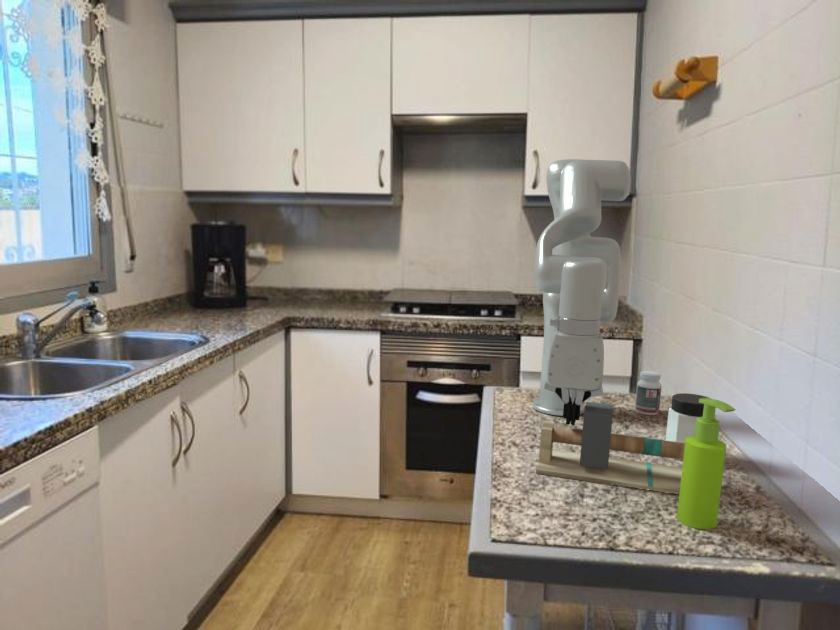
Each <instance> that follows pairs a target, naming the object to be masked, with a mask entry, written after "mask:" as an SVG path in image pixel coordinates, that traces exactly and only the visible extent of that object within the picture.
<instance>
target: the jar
mask: <svg viewBox="0 0 840 630" xmlns="http://www.w3.org/2000/svg"><path fill="white" fill-rule="evenodd" d="M671 398H672V399H671V405H670V406H669V407H668V413H667V423H666V433H665V441H673V442H680V443H685V440H686V438H687V437H691V436H695V428H696V420H697V418H700V417H702V416H703V410H704V404H703V403H700V402H699V399H701V398H710V397H708V396H705V395H702V394H697V393H696V394H695V393H685V392H684V393H683V392H682V393H680V392H679V393H675V394H673V395H672V396H671ZM715 419H717V414H715ZM676 461H682V462H683V460H681V459H676Z"/></svg>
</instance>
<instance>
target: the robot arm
mask: <svg viewBox="0 0 840 630" xmlns="http://www.w3.org/2000/svg"><path fill="white" fill-rule="evenodd" d="M631 176H632V175H631V172H630V167H629V166H628V164H627V163H626V162H625V161H622V160H614V159H613V160H610V159H607V160H606V159H581V158H580V159H578V158H577V159H576V158H569V159H560V160H555V161H553V162H551V163H550V164H549V165H548V167H547V170H546V181H545V182H546V188H547V194H548V197H549V198H548V199H549V200H550V201H549V202H550V204H551V208H552V212H553V219H554V220H553V221H551V222H550V223H549V224H548V225H547V226H546V227H545V229H544V230H543V231H542V233H541V234H540V236H539V238H538V239H537V240H538V241H537V243H536V247H535V257H534V271H533V272H534V274H533V275H534V276H533V278H534V285H535V287H536V289H537V290H538V291H540V292H542V293H543V295H542V305H543V306H542V307H543V344H542V346H543V347H542V359H541V360H542V361H541V371H540V372H541V373H540V374H541V375H540V385H539V387H540V388H539V398H535V399H534V400H533V401H532V409H534V410H536V411H538V412H540V413H543V414H546V415H552V416H558V417H559V416H560V417H562V419H565V425H567V426H568V425H571V426H575V424H576V421H580V416H581V415H582V414H584V410H585V405H584V404H583V403H584V402H585V401H587V400H588V399H589V398H591V397H592V398H594V397H595V398H596V397H602V396H603V394H604V390H603V389H604V388H603V381H604V367H605V366H604V365H605V362H604V361H605V347H604V345H605V344H604V338H603V335H600V329H601V328H600V327H601V326H600V325H601V324H609V323H611V322H612V323H613V321H614V320H615V319H616V318H617V317H616V316H617V313H618V305H619V295H620V294H619V293H620V279H621V262H622V261H621V260H622V254H621V253H622V252H621V246H620V245H619V243H618V241H617V240H615V239H613V238H611V237H610V238H609V237H602V236H601V237H600V236H591V234H592V233H593V232H594V231H597V229H598V228H599V226H601V223H602V201H609V202H611V201H612V202H622V201H624V200H626V199H627V198H628V196H629V193H630V189H631V182H632V180H631V179H632V177H631ZM550 252H552V253H551V254H550Z"/></svg>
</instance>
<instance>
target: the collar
mask: <svg viewBox="0 0 840 630" xmlns="http://www.w3.org/2000/svg"><path fill="white" fill-rule="evenodd" d="M584 407H585V410H584V413H583V419H582V420H583V421H582V430H583V431H582V443H581V446H580V453H581V455H580V465H582V466H589V467H596V468H603V469H608V461H609V457H610V451H611V450H610V440H611V433H612V427H613V416H614V415H613V414H614V404H608V403H601V402H593V401H592V402H591V401H586V403H585V405H584Z"/></svg>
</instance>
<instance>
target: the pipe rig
mask: <svg viewBox="0 0 840 630" xmlns="http://www.w3.org/2000/svg"><path fill="white" fill-rule="evenodd" d="M555 423H556V422H554V421H545V420H544V421H543V423H542V425H541V427H540V437H539V438H540V439H539V440H540V441H539V453H538V464H537V466H536V470H535V474H537V475H543V476H549V477H557V478H563V479H571V480H577V481H582V482H583V481H584V482H589V481H590V482H591V483H595V482H597V483H596V484H602V483H605V484H604V485H608V484H613V485H612V486H615V485H620V486H619V487H622V486H628V487H635V488H642V489H649V490H654V491H661V492H668V493H674V494H680V485H681V476H682V467H680V466H672V465H666V464H658V463H651V462H648V461H646V462H644V461H638V460H631V459H623V458H618V457H617V458H616V457H610V456H609V461H608V469H603V468H596V467H589V466H582V465H580V455H581V452H573V451H565V450H560V449H554V443H558V444H566V445H573V446H574V445H575V446H580V447H581V443H582V431H583V429H580V428H579V429H578V428H571V427H564V426H558V425H555ZM684 449H685V443H680V442H673V441H666V439H656V438H648V437H641V436H633V435H627V434H617V433H612V432H611V440H610V450H609V451H617V452H624V453H625V452H626V453H633V454H639V455H644V456H653V457H660V458H661V457H662V458H668V459H674V460H677V459H681V460H680V461H682V460H683V458H684ZM628 487H627V488H628ZM635 488H634V489H635ZM654 491H653V492H654ZM661 492H660V493H661ZM668 493H667V494H668ZM674 494H673V495H674Z"/></svg>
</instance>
